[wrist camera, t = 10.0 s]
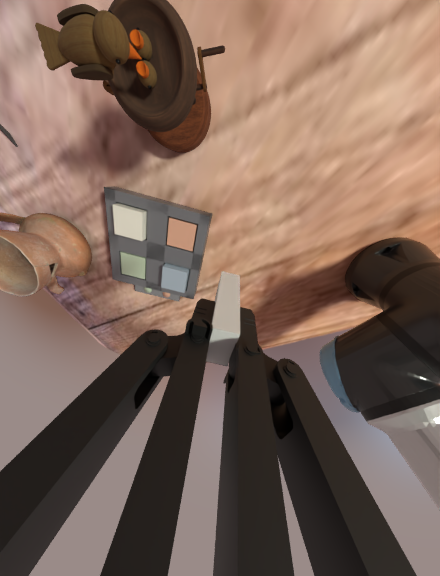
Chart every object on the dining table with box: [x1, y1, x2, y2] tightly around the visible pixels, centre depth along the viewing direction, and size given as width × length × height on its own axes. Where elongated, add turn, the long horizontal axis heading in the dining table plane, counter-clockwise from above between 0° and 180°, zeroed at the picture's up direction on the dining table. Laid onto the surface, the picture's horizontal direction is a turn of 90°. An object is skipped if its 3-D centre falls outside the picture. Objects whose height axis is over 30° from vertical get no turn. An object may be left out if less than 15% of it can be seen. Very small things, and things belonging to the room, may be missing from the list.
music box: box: [35, 0, 225, 152], centre depth 20 cm, size 15×11×20 cm
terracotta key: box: [167, 217, 198, 251], centre depth 36 cm, size 6×6×2 cm
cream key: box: [113, 203, 147, 241], centre depth 35 cm, size 6×6×2 cm
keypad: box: [104, 187, 212, 299], centre depth 39 cm, size 20×20×4 cm
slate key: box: [161, 263, 190, 293], centre depth 40 cm, size 6×6×2 cm
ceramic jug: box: [0, 213, 92, 296], centre depth 36 cm, size 18×14×14 cm
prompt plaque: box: [135, 285, 180, 301], centre depth 47 cm, size 12×3×1 cm, turn 76°
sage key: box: [120, 251, 146, 279], centre depth 41 cm, size 6×6×2 cm
